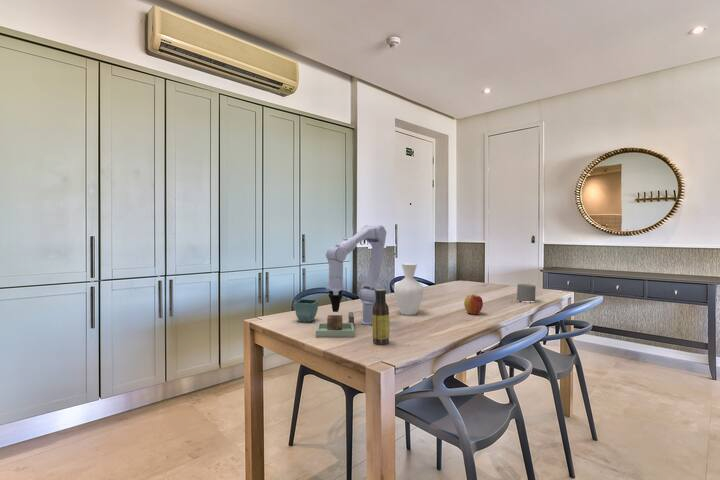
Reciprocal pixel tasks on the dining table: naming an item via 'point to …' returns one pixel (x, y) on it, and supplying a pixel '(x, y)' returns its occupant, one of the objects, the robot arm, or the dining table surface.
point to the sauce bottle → (380, 318)
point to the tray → (345, 332)
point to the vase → (408, 291)
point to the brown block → (334, 322)
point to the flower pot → (306, 309)
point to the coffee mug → (526, 292)
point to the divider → (351, 318)
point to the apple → (473, 304)
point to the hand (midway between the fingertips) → (335, 309)
